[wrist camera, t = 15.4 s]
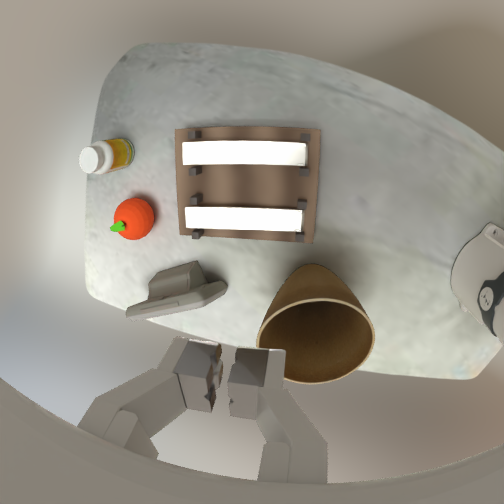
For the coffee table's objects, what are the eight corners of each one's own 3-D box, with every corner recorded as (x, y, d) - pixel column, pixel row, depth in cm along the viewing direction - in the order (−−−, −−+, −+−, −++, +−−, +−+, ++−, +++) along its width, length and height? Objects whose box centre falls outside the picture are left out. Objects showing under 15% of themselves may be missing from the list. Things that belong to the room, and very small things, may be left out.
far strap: (304, 209, 37) (305, 210, 37) (302, 229, 39) (303, 231, 38) (186, 206, 38) (184, 207, 38) (187, 226, 40) (186, 227, 39)
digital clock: (156, 304, 54) (132, 336, 44) (142, 264, 50) (113, 293, 41) (232, 302, 51) (219, 340, 41) (223, 258, 47) (204, 290, 38)
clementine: (131, 237, 48) (111, 252, 42) (118, 202, 46) (95, 213, 39) (166, 226, 46) (147, 241, 40) (152, 188, 44) (130, 198, 37)
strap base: (318, 130, 37) (322, 129, 31) (311, 233, 43) (313, 250, 37) (185, 129, 39) (167, 129, 33) (188, 226, 46) (173, 241, 40)
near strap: (308, 143, 34) (308, 143, 33) (307, 165, 35) (307, 166, 34) (184, 142, 35) (182, 142, 34) (184, 164, 36) (183, 164, 35)
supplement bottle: (119, 173, 44) (85, 185, 35) (106, 149, 42) (70, 156, 33) (140, 157, 42) (106, 164, 33) (126, 132, 40) (91, 134, 32)
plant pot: (251, 288, 49) (233, 351, 34) (307, 225, 43) (312, 273, 28) (314, 331, 51) (316, 398, 36) (371, 278, 45) (397, 339, 30)
